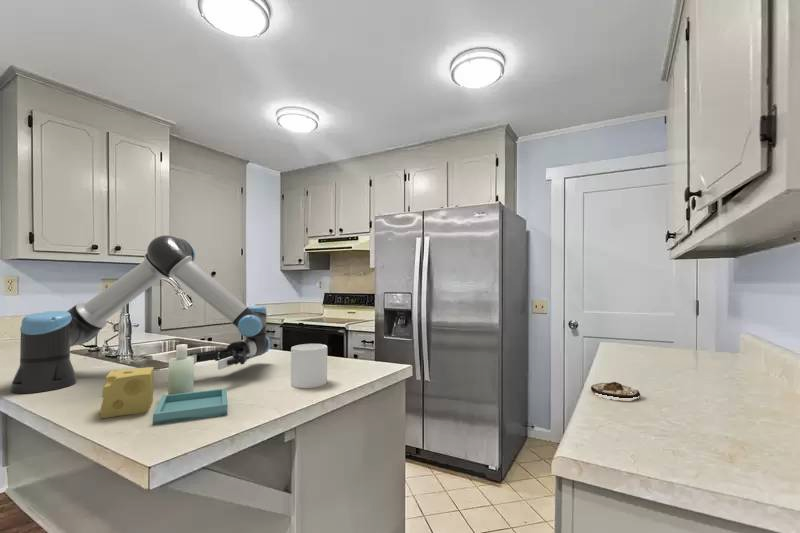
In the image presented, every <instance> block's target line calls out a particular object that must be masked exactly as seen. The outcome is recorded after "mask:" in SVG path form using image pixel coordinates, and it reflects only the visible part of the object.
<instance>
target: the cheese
mask: <svg viewBox="0 0 800 533" xmlns="http://www.w3.org/2000/svg"><path fill="white" fill-rule="evenodd" d="M154 369H155V368H154V367H153V366H152V367H151V366H149V367H146V366H145V367H138V368H129V369H128V368H127V369H115V370H110V372H108V374H107V375H106V377H105V385H104V386H103V388H102V393H101V395H102V403H101V406H100V418H101V419H102V418H103V419H109V418H114V417H122V416H129V415H137V413H139V414H145V412H147V413H149V410H150V409H151V406H152V404H153V401H154V383H155V382H154V380H155V379H154V378H155V373H154Z"/></svg>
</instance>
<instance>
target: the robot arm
mask: <svg viewBox="0 0 800 533" xmlns="http://www.w3.org/2000/svg"><path fill="white" fill-rule="evenodd" d="M146 250H147V252H146V253H145V254H144V259H143V261H142V262H141V263H139V264H138V265H136V266H135V267H134V268H132V269H131V270H129V271H128V272H127V273H126V274H124V275H123V276H121V277H120V278H119V279H118V280H115V282H113V283H111V284H110V285H109V286H108V287H107V288H105V289H103V290H102V291H101V292H99V293H97V295H95V296H94V297H92V298H91V299H90V300H89V301H86V302H78V303H76V304H75V305H74V306H72V307H71V308H70V309H68V310H67V311H66V310H51V311H43V312H37V313H36V312H35V313H31V314H27V315H26V316H24V317H23V318H22V320H21V324H20V325H21V326H20V328H19V330H20V344H19V345H20V350H19V352H20V354H19V357H20V359H19V365H18V366H19V367H18V369H17V371H16V373H15V375H14V377H13V379H12V382H11V384H10V391H11V393H14V394H31V393H32V394H33V393H40V392H47V391H48V392H49V391H54V390H58V389H63V388H67V387H70V386H72V385H74V384H76V383H77V374H76V371H75V369H74V366H73V364H72V362H71V348H72V347H74V346H79V345H83V344H86V343H88V342H90V341H92V340H93V339H94V338H96V337H97V336H98V334H99V333H100V331H101V330H102V329H103V328H104V327H106V325H107V320H108V319H110V318H111V317H112V316H114V315H115V314H116V313H117V312H119V311H120V310H121V309H123V308H124V307H126V306H127V305H128V304H129V303H131V302H132V301H134V300H135V299H136V298H138V297H139V296H140V295H141V294H143V293H144V292H146V291H147V290H148V289H150V288H151V287H152V286H153V285H155V284H156V283H158V282H159V281H160V280H162V279H170V278H171V277H173V278H174V277H175V279H177V280H178V281H179V282H180V283H182V284H183V285H185V286H186V287H187V288H188V289H190V290H191V291H192V292H193V293H194V294H196V296H198V297H199V298H201V299H202V300H203V301H204V302H205V303H206V304H208V305H209V306H210V307H211V308H212V309H213V310H215V311H216V312H218V313H219V314H220V315H222V316H223V317H224V318H225V319H226V320H227V321H229V322H230V323H231V324H233V326H234V327H236V328H237V330H238V332H239V334H241V336H244V337H245V339H242V340H237V341H235V342H231V343H229V344H228V345H227V347H226V348H223V349H217V348H216V349H212V350H208V351H207V350H206V351H200V352H199V351H198V352H194V353H193V352H192V353H191V352H190V353H189V354H188V355H189V356H190V357H194V365H195V364H197V363H200V362H207V361H216V362H217V370H220V371H221V370H222V369H225V368H228V367H231V366H235V365H236V366H237V365H238V364H240V365H245V363H246V362H247V361H248V360H250V359H252V358H256V357H260V356H262V355H265V354H266V353H267V352H269V351H270V349H271V348H272V342H271V340H270V337H269V336H267V316H268V314H267V307H266V306H264V305H263V306H261V305H257V306H255V305H254V306H247V305H245V304H244V303H243V302H242V301H240V299H238V298H237V297H236V296H235V295H233V293H231V292H230V291H229V290H228V289H226V287H224V286H223V285H221V284H220V283H219V282H218V281H217V280H215V278H213V277H212V276H211V275H209V274H208V273H207V272H206V271H205V270H203V268H201V267H200V266H199V265H197V264H196V263H195V260H196V259H195V258H196V252H195V248H194V247H193V245H192V244H191V243H190V242H188V241H187V240H186V239H184V238H179V237H175V236H172V235H165V234H164V235H160V236H157V237H155V238H153V239H152V240H151V241H150V242H149V244H148V246H147V248H146Z"/></svg>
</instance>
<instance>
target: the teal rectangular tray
mask: <svg viewBox="0 0 800 533" xmlns="http://www.w3.org/2000/svg"><path fill="white" fill-rule="evenodd" d="M227 392H228V391H227V387H224V388H223V387H222V388H217V389H214V388H213V389H206V390H198V391H197V390H196V391H193V392H187V393H179V394H170V395H168V394H163V395H161V397H160V399H159V402H158V403H157V405H156V407H155V409H154V411H153V413H152V426H155V425H163V424H171V423H179V422H184V421H191V420H190V419H192V420H198V418H200V419H205V418H206V419H207V418H212V417H213V418H214V417H219V416H220V417H221V416H228V393H227ZM170 422H171V423H170Z"/></svg>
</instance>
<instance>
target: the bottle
mask: <svg viewBox="0 0 800 533" xmlns="http://www.w3.org/2000/svg"><path fill="white" fill-rule="evenodd" d="M175 346H176V347H175V349H176V350H175V351H176V352H175V355H176V356H175V357H172V358H169V359H168V384H167V387H168V389H167V395H170V394H179V393H187V392H194V379H195V375H194V374H195V373H194V372H195V369H194V368H195V364H194V357H190V356H188V344H187V343H185V344H184V343H183V344H177V345H175Z"/></svg>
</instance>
